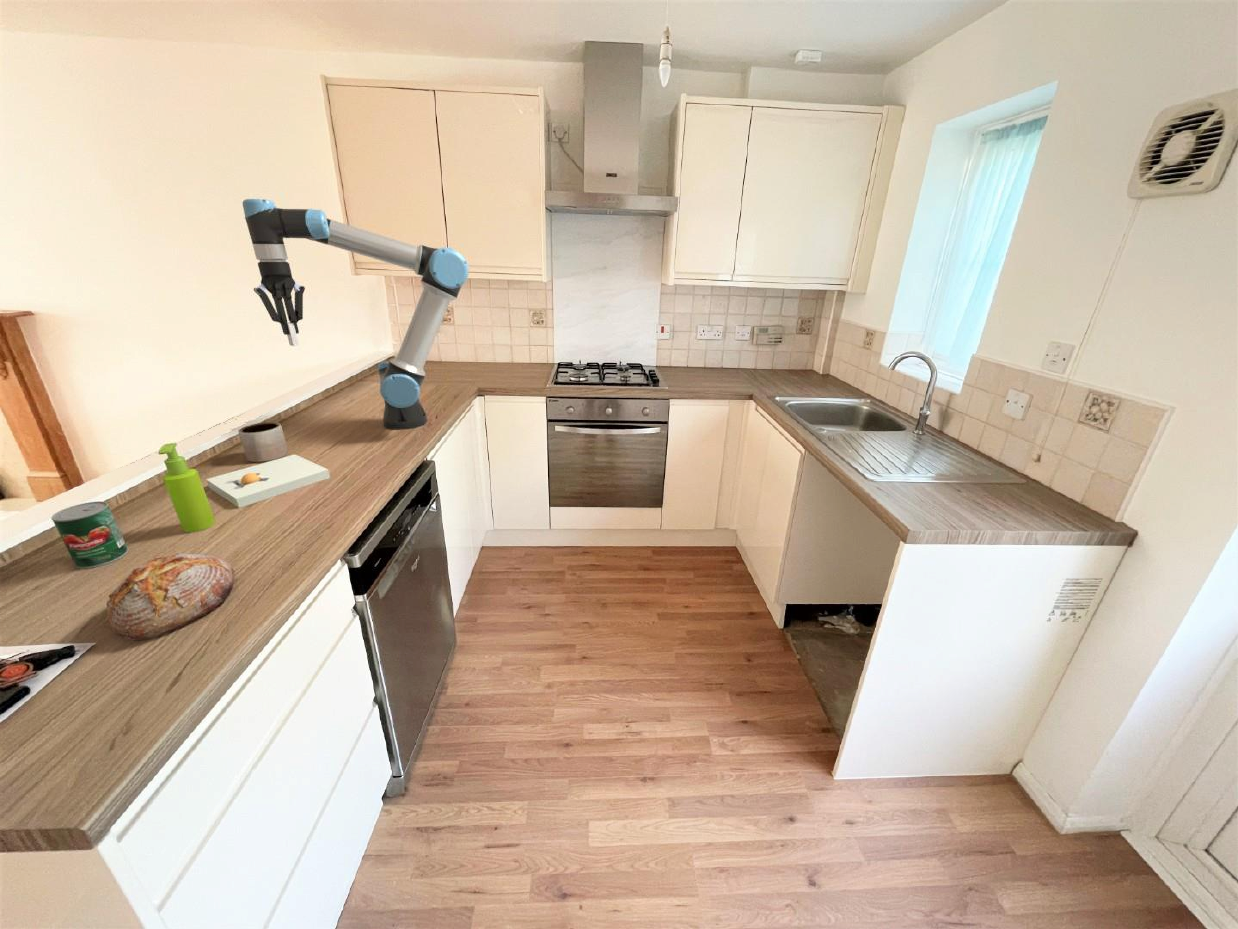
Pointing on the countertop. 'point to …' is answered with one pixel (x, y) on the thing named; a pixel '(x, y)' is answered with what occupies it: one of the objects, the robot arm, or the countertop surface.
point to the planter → (263, 442)
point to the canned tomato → (90, 534)
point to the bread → (168, 594)
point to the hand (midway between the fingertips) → (294, 345)
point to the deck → (268, 480)
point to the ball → (249, 478)
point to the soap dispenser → (186, 492)
